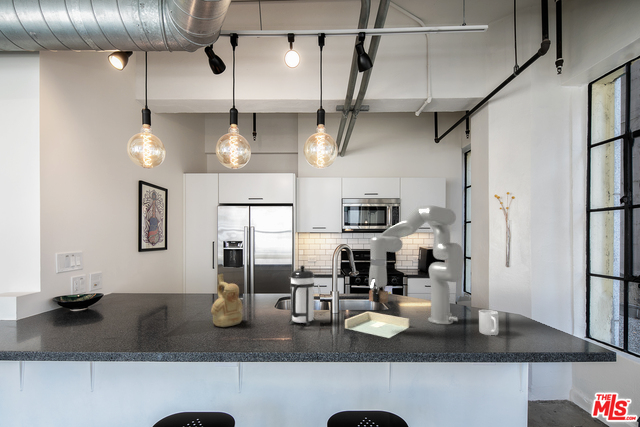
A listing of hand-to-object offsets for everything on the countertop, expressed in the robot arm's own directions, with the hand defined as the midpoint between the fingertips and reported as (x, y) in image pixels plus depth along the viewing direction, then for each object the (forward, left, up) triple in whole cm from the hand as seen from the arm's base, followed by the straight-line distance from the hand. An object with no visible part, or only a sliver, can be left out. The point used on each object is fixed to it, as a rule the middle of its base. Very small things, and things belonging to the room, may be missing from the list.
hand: (378, 300), depth 162 cm
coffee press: (+39, +11, -15) cm, 43 cm away
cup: (-42, -32, -15) cm, 55 cm away
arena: (+4, -6, -15) cm, 17 cm away
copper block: (0, 0, 0) cm, 0 cm away
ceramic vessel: (+69, +36, -15) cm, 79 cm away
